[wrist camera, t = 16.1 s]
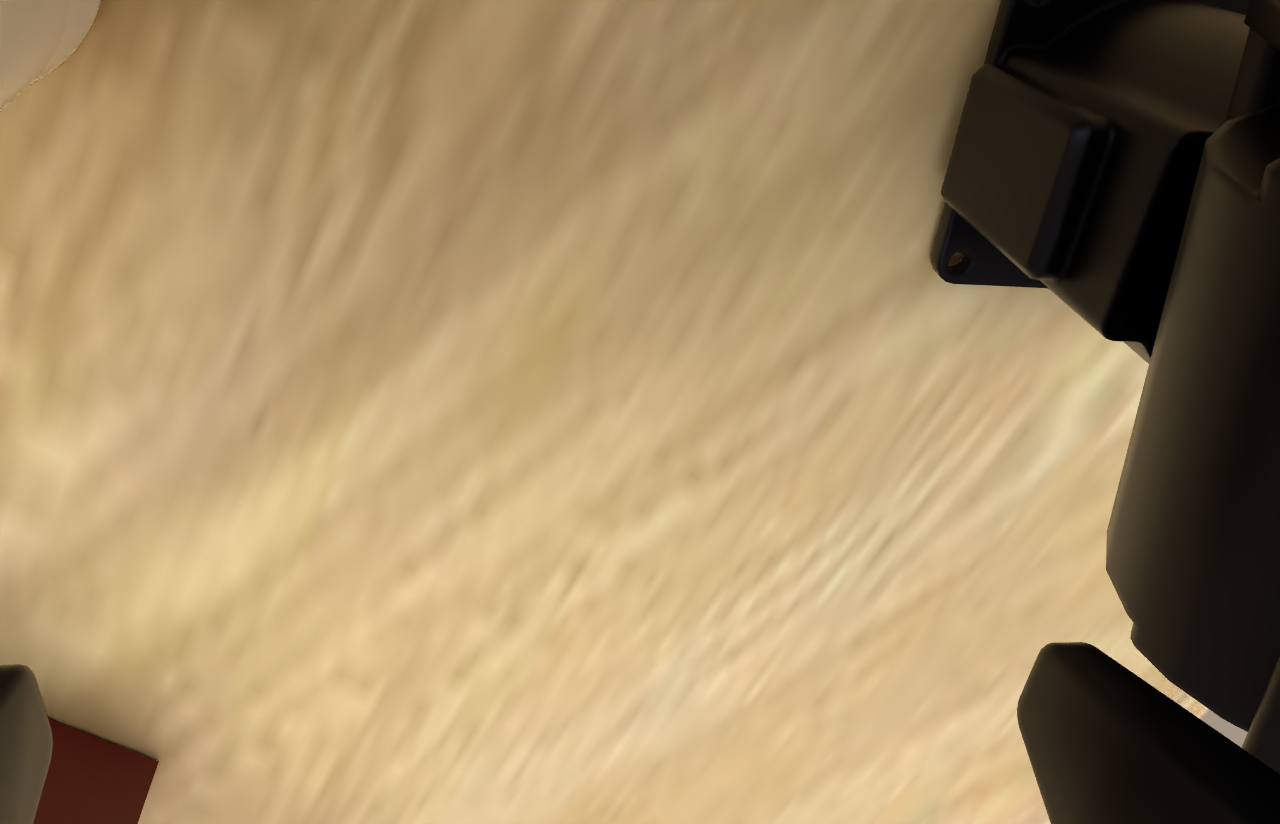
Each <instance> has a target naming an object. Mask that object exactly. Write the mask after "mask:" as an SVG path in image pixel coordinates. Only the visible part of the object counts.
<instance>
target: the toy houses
mask: <svg viewBox="0 0 1280 824" xmlns="http://www.w3.org/2000/svg"><path fill="white" fill-rule="evenodd" d="M48 720H49V724H50V727H51V731H52V739H53V746H52V755H51V760H50V765H49V768H48V772H47V775H46V779H45V782H44V786H43V790H42V793H41V797H40V800H39V804H38V807H37V811H36V815H35V818H34V822H33V824H137V823H138V820H139V817H140V814H141V811H142V808H143V806H144V803H145V800H146V797H147V794H148V791H149V788H150V785H151V782H152V779H153V776H154V774H155V771H156V768H157V765H158V762H159V761H156V760H154V759H151V758H148V757H146V756H143V755H141V754H138V753H136V752H133V751H131V750H128V749H125V748H123V747H120V746H118V745H115V744H113V743H110V742H107V741H105V740H102V739H100V738H97V737H95V736H92V735H89V734H87V733H84V732H82V731H79V730H77V729H74V728H72V727H69V726H66V725H64V724H61V723H59V722H56V721H54V720H51V719H48Z"/></svg>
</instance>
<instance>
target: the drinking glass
mask: <svg viewBox="0 0 1280 824" xmlns="http://www.w3.org/2000/svg"><path fill="white" fill-rule="evenodd" d="M100 3H101V0H0V112H1V111H2V110H3V109H4V108H5V107H6V106H7V105H8V104H9V103H10V102H11V101H12V100H13V99H14V98H15V97H16V96H18V95H19V94H20V93H21V92H22V91H23V90H24V89H26V88H27V87H29V86H30V85H32V84H33V83H35V82H37V81H38V80H40V79H41V78H43V77H44V76H46V75H47V74H49V73H50V72H52V71H53V70H55V69H56V68H57V67H58V66H59V65H61V64H62V63H63V62H64V61H65V60H66V59H67V58H68V57H69V56H70V55H71V54H72V53H73V52H74V51H75V50H76V49H77V48H78V46H79V45H80V44H81V42H82V41H83V39H84V38H85V36H86V35H87V33H88V31H89V29H90V28H91V26H92V24H93V22H94V20H95V17H96V15H97V12H98V9H99V7H100Z"/></svg>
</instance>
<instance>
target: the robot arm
mask: <svg viewBox="0 0 1280 824" xmlns="http://www.w3.org/2000/svg"><path fill="white" fill-rule="evenodd" d="M941 194H942V196H943V197H944V199H945V200H946V203H945V206H944V210H943V214H942V217H941V221H940V225H939V228H938V232H937V235H936V239H935V243H934V246H933V250H932V253H931V264H932V267H933V269H934V271H935V272H936V273H937V274H938V275H939V276H940V277H941V278H942V279H943V280H945V281H946V282H949V283H953V284H970V285H992V286H1014V287H1036V288H1049V289H1050V290H1052V291H1053V292H1054V293H1055V294H1056V295H1057V296H1058V297H1059V298H1061V299H1062V300H1063V301H1064V302H1065V303H1066V304H1067V305H1069V306H1070V307H1071V308H1072V309H1073V310H1074V311H1075V312H1076V313H1078V314H1079V315H1080V316H1081V317H1082V318H1083V319H1084V320H1086V321H1087V322H1088V323H1089V324H1090V325H1091V326H1092V327H1093V328H1095V329H1096V330H1097V331H1098V332H1099V333H1100V334H1101V335H1103V336H1104V337H1105V338H1106V339H1109V340H1112V341H1123V342H1124V343H1125V344H1127V345H1128V346H1129V347H1130V348H1131V349H1132V350H1134V351H1135V352H1136V353H1137V354H1138V355H1139V356H1140V357H1142V358H1143V359H1144V360H1145V361H1146V362H1147V363H1149V367H1148V371H1147V375H1146V379H1145V383H1144V387H1143V391H1142V395H1141V399H1140V403H1139V407H1138V411H1137V415H1136V419H1135V423H1134V427H1133V431H1132V435H1131V439H1130V442H1129V446H1128V450H1127V454H1126V458H1125V462H1124V466H1123V470H1122V474H1121V478H1120V482H1119V486H1118V490H1117V494H1116V498H1115V502H1114V506H1113V510H1112V514H1111V518H1110V522H1109V526H1108V530H1107V553H1106V570H1107V573H1108V575H1109V577H1110V579H1111V581H1112V583H1113V585H1114V587H1115V589H1116V592H1117V594H1118V596H1119V598H1120V600H1121V602H1122V604H1123V606H1124V608H1125V611H1126V613H1127V615H1128V616H1129V617H1130V618H1131V620H1132V621H1133V622H1134V623H1133V627H1132V630H1131V640H1132V642H1133V644H1134V646H1135V647H1136V648H1137V649H1138V650H1139V651H1140V652H1141V653H1142V654H1143V655H1144V656H1145V657H1146V658H1147V659H1148V660H1149V661H1150V662H1151V663H1152V664H1153V665H1154V666H1155V667H1156V668H1157V669H1158V670H1159V671H1160V672H1161V673H1162V674H1163V675H1164V676H1165V677H1166V678H1167V679H1168V680H1169V681H1170V682H1172V683H1173V684H1174V685H1176V686H1177V687H1179V688H1180V689H1182V690H1183V691H1184V692H1186V693H1187V694H1189V695H1190V696H1191V697H1193V698H1194V699H1196V700H1197V701H1199V702H1200V703H1201V704H1203V705H1204V706H1206V707H1207V708H1208V709H1210V710H1211V711H1213V712H1214V713H1215V714H1217V715H1218V716H1220V717H1221V718H1223V719H1224V720H1226V721H1228V722H1230V723H1231V724H1233V725H1235V726H1237V727H1239V728H1241V729H1243V730H1245V731H1247V732H1248V734H1247V736H1246V739H1245V741H1244V744H1243V746H1242V748H1241V747H1240V746H1238V745H1237V744H1235V743H1234V742H1232V741H1231V740H1229V739H1228V738H1226V737H1225V736H1224V735H1222V734H1221V733H1219V732H1218V731H1216V730H1215V729H1213V728H1212V727H1211V726H1209V725H1208V724H1206V723H1205V722H1203V721H1202V720H1200V719H1199V718H1198V717H1196V716H1195V715H1193V714H1192V713H1190V712H1189V711H1187V710H1186V709H1184V708H1183V707H1182V706H1180V705H1179V704H1177V703H1176V702H1174V701H1173V700H1171V699H1170V698H1169V697H1167V696H1166V695H1164V694H1163V693H1161V692H1160V691H1158V690H1157V689H1155V688H1154V687H1153V686H1151V685H1150V684H1148V683H1147V682H1145V681H1144V680H1142V679H1141V678H1140V677H1138V676H1137V675H1135V674H1134V673H1132V672H1131V671H1129V670H1128V669H1127V668H1125V667H1124V666H1122V665H1121V664H1119V663H1118V662H1116V661H1115V660H1113V659H1112V658H1111V657H1109V656H1108V655H1106V654H1105V653H1103V652H1102V651H1100V650H1099V649H1097V648H1096V647H1094V646H1093V645H1090V644H1088V643H1083V642H1071V643H1050V644H1047V645H1046V646H1045V647H1044V648H1042V649H1041V651H1040V652H1039V654H1038V656H1037V659H1036V661H1035V663H1034V666H1033V668H1032V670H1031V673H1030V675H1029V677H1028V680H1027V682H1026V684H1025V686H1024V689H1023V691H1022V693H1021V696H1020V698H1019V701H1018V708H1017V717H1018V724H1019V728H1020V731H1021V734H1022V737H1023V740H1024V743H1025V746H1026V749H1027V752H1028V755H1029V758H1030V762H1031V765H1032V768H1033V771H1034V774H1035V777H1036V780H1037V783H1038V786H1039V789H1040V792H1041V795H1042V798H1043V801H1044V804H1045V807H1046V810H1047V813H1048V816H1049V819H1050V822H1051V824H1280V0H1001V4H1000V7H999V11H998V14H997V18H996V22H995V25H994V29H993V33H992V36H991V40H990V43H989V47H988V51H987V54H986V58H985V62H984V65H983V66H982V67H981V68H980V69H979V70H978V71H977V72H976V73H975V74H974V75H973V76H972V79H971V83H970V86H969V90H968V94H967V97H966V101H965V105H964V108H963V112H962V116H961V119H960V123H959V127H958V130H957V134H956V138H955V141H954V145H953V149H952V153H951V156H950V160H949V164H948V167H947V171H946V175H945V178H944V182H943V186H942V190H941ZM962 251H964V256H963V258H962V260H961V261H960V262H959V263H958V264H956V265H953V266H949V261H950V259H951V257H952V256H953V255H954V254H956V253H957V252H962ZM52 746H53V739H52V731H51V727H50V724H49V720H48V717H47V714H46V710H45V707H44V704H43V700H42V697H41V694H40V691H39V687H38V684H37V681H36V678H35V676H34V673H33V672H32V671H31V670H30V668H28V667H27V666H23V665H0V824H33V822H34V818H35V815H36V811H37V807H38V804H39V800H40V797H41V793H42V790H43V786H44V782H45V779H46V775H47V772H48V768H49V765H50V760H51V755H52Z"/></svg>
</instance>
